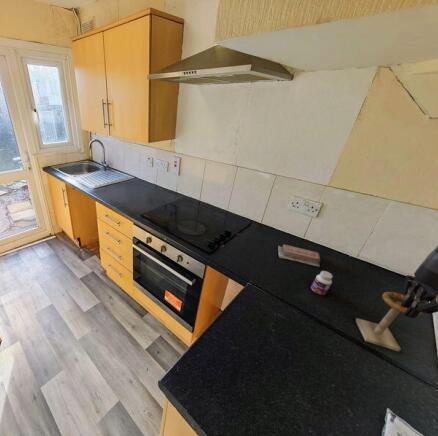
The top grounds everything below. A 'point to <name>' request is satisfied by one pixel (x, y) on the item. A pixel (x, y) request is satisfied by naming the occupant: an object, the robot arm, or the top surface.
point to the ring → (390, 302)
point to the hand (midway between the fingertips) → (406, 312)
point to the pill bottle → (322, 283)
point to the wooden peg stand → (380, 330)
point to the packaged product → (299, 255)
